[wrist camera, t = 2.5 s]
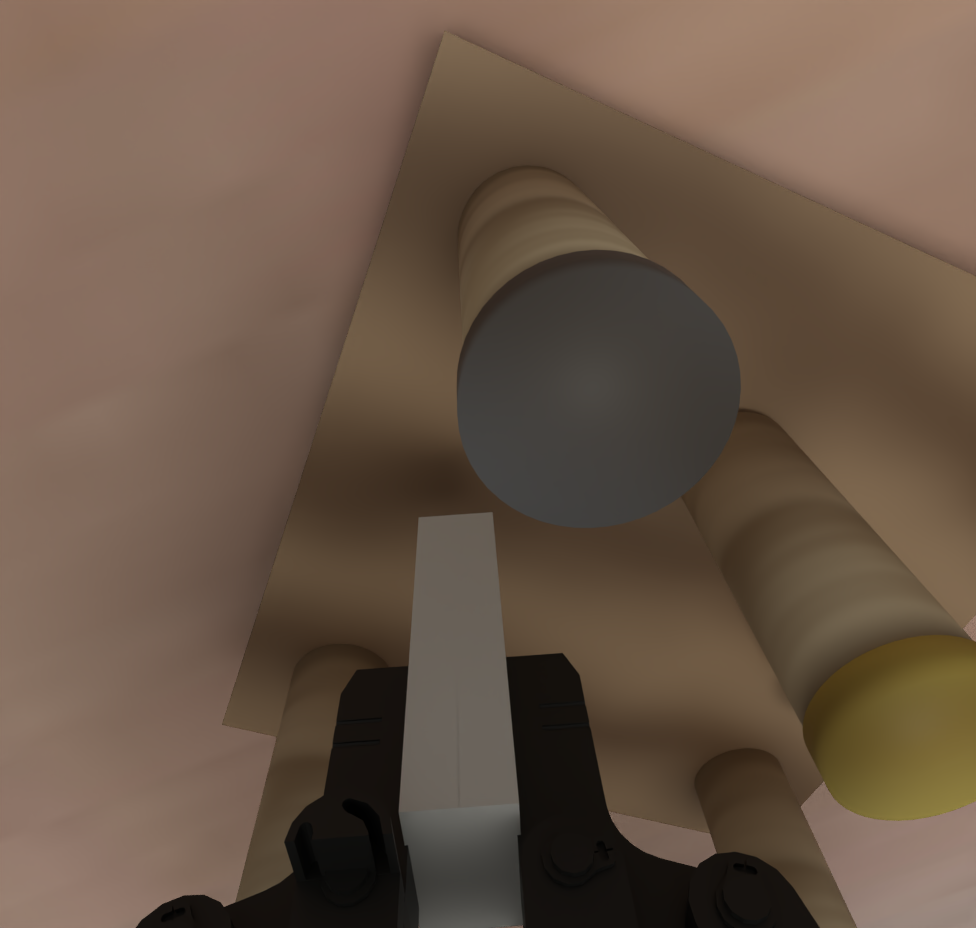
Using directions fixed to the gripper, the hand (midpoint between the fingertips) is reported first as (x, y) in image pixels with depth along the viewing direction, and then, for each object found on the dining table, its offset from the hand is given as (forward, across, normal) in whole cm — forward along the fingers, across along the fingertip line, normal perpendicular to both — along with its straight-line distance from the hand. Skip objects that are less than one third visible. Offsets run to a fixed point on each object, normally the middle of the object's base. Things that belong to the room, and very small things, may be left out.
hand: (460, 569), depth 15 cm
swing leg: (+4, +9, -4) cm, 10 cm away
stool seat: (+6, +5, -4) cm, 9 cm away
